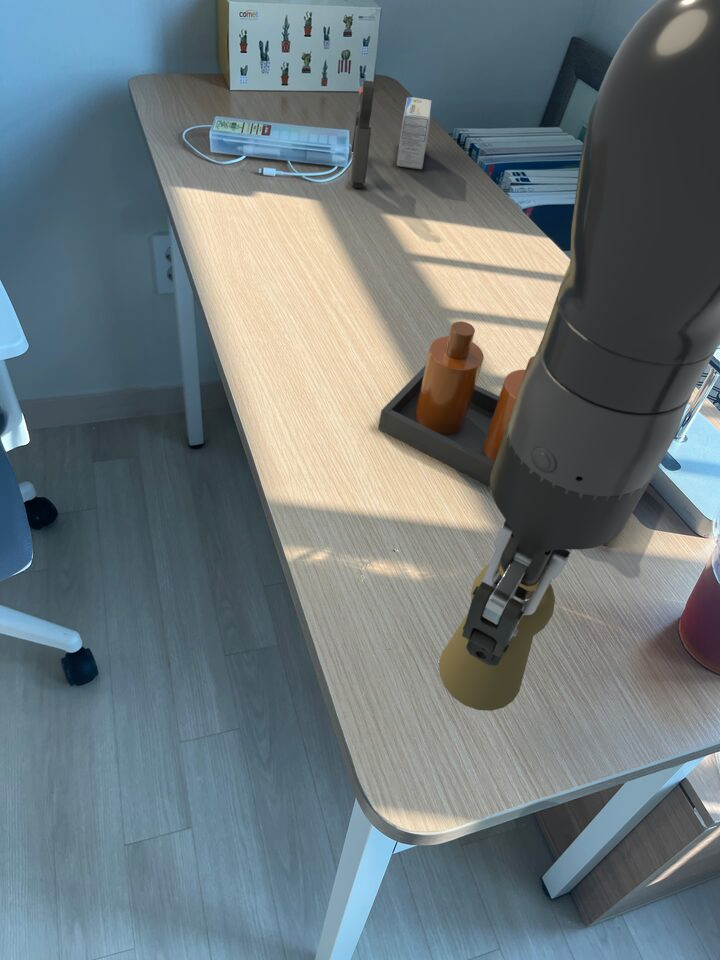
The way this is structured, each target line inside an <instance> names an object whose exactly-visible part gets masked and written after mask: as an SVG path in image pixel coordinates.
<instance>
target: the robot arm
mask: <svg viewBox="0 0 720 960" xmlns="http://www.w3.org/2000/svg"><path fill="white" fill-rule="evenodd" d="M569 257H570V259H569V264H568V266H567V268H566V271H565V273H564V275H563V277H562V280H561V282H560V285H559V287H558V288H559V289H558V292H557V295H556V298H555V301H554V304H553V306H552V309H551V313H550V316H549V318H548V321H547V324H546V327H545V330H544V333H543V336H542V339H541V341H540V344H539V346H538V348H537V350H536V353H535V354H534V358H533V360H532V362H531V363H530V365H529V367H528V369H527V371H526V373H525V375H524V378H523V380H522V383H521V386H520V388H519V391H518V394H517V397H516V400H515V403H514V406H513V409H512V412H511V415H510V418H509V421H508V424H507V427H506V430H505V433H504V436H503V439H502V442H501V445H500V448H499V451H498V454H497V457H496V460H495V463H494V466H493V469H492V472H491V478H490V486H489V487H490V492H491V497H492V499H493V502H494V504H495V506H496V507H497V509H498V511H499V512H500V514H501V515H502V517H503V518H504V522H503V523H502V525H501V527H500V529H499V530H498V533H497V535H496V538H495V540H494V549H495V550H494V553H493V555H492V557H491V559H490V562H489V564H488V565H489V566H488V568H487V570H486V572H485V574H484V577H483V579H482V581H481V584H480V585H479V587H478V586H476V588H475V590H474V591H473V594H472V595H474V597H473V599H472V602H470V606H469V610H468V612H469V613H468V612H467V614H468V616H467V620H466V623H465V625H464V627H463V634H462V636H463V637H465V638H466V639H468V640H469V641H468V644H467V646H466V648H467V650H468V651H469V654H470V655H472V656H473V657H475V658H477V659H479V660H480V661H482V662H484V663H485V664H487V665H493V666H496V665H498V663H499V661H500V659H501V658H502V656H503V654H504V653H506V651H507V650H508V648H509V645H508V643H509V641H510V640H511V639H512V637H513V636H514V637H515V636H516V635H517V633H518V631H519V629H517V627H518V625H519V624H520V622H521V620H522V618H523V616H524V615H531V614H533V613H534V612H535V610H536V609H537V607H538V605H539V604H540V602H541V600H542V598H543V596H544V594H545V592H546V590H547V588H548V586H549V584H551V582H552V581H553V580H554V579H556V578H558V577H559V576H560V574H561V572H562V571H563V569H564V567H565V566H566V564H567V561H568V559H569V558H570V556H571V554H572V552H573V550H574V551H575V550H587V549H588V550H589V549H594V548H597V547H600V546H604V545H603V544H605V543H607V542H608V543H609V542H611V541H612V540H614V539H615V538H616V537H617V536H618V535H619V534H621V533H622V532H623V530H624V529H625V527H626V525H627V523H628V522H629V520H630V518H631V516H632V514H633V513H634V512H635V509H636V507H637V506H638V505H639V502H640V500H641V499H642V497H643V494H645V491H646V490H647V488H648V486H649V485H650V483H651V481H652V479H653V477H654V476H655V474H656V472H657V470H658V468H659V467H660V464H661V463H662V461H663V459H664V458H665V456H666V454H667V453H668V451H669V449H670V447H671V445H672V443H673V441H674V439H675V438H676V435H677V433H678V431H679V428H680V425H681V423H682V419H683V417H684V413H685V411H686V408H687V406H688V403H689V402H690V400H691V397H692V394H693V392H694V391H695V389H696V387H697V385H698V383H699V382H700V380H701V378H702V377H703V375H704V373H705V371H706V369H707V368H708V365H709V364H710V363H711V360H712V358H713V356H714V355H715V353H716V351H717V350H718V348H719V346H720V0H657V1H656V2H655V3H654V4H653V5H652V6H651V7H650V8H649V9H648V10H646V12H645V13H643V14H642V16H641V17H640V18H639V19H638V20H637V21H636V22H635V24H634V25H633V27H632V28H630V31H629V32H628V33H627V35H626V36H625V37H624V39H623V40H622V42H621V44H620V45H619V47H618V49H617V51H616V52H615V54H614V56H613V57H612V59H611V62H610V64H609V66H608V68H607V70H606V72H605V74H604V77H603V79H602V82H601V84H600V86H599V88H598V91H597V94H596V97H595V100H594V102H593V106H592V108H591V111H590V114H589V118H588V122H587V125H586V130H585V134H584V137H583V142H582V148H581V155H580V161H579V167H578V173H577V182H576V189H575V199H574V208H573V214H572V221H571V232H570V256H569ZM608 543H607V544H608ZM500 566H501V567H502V569H503V572H504V575H503V576H501V574H500V571H499V570H500ZM543 573H544V574H543ZM542 575H543V576H542ZM541 576H542V578H541ZM540 578H541V580H540ZM539 580H540V582H539V584H538V586H537V588H536V590H535V591H527V590H525V589H523V588H522V587H520V586H519V585H520V583H521V584H523V585H525V586H533V585H535V584H536V583H537V582H538V581H539Z"/></svg>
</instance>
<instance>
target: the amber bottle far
mask: <svg viewBox="0 0 720 960" xmlns="http://www.w3.org/2000/svg"><path fill="white" fill-rule="evenodd" d="M475 333H476V328H475V327H474V326H473V325H472V324H471V323H469V322H466V321H455V322H453V323H452V324H451V326H450V330H449V334H448V335H445V336H441V337H439V338H436V339H435V340H433V342H431V344H430V346H429V350H428V353H427V358H426V363H425V365H426V367H425V371H424V376H423V380H422V384H421V389H420V393H419V397H418V402H417V406H416V410H415V417H416V419H417V421H418V423H419V424H421V425H423V426H425V427H427V428H429V429H431V430H433V431H435V432H437V433H439V434H452V433H455V432H457V431H459V430H460V429H461V428H462V427H463V426H464V423H465V420H466V417H467V413H468V410H469V407H470V403H471V400H472V397H473V393H474V390H475V386H477V382H478V379H479V376H480V373H481V369H482V366H483V363H484V353H483V350H482V348H480V346H479V345H477V344H476V343H475V342H473V340H474V338H475V337H474V336H475Z"/></svg>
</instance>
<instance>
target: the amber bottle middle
mask: <svg viewBox="0 0 720 960" xmlns="http://www.w3.org/2000/svg"><path fill="white" fill-rule="evenodd" d="M534 356H535V355H534ZM534 356H531V357H530V358H529V359H528V362H527V364H526V366H525V369H517V370H512V372H510V373H508V374H507V375H506V376H505V378H504V381H503V384H502V387H501V390H500V393H499V395H498V396H499V399H498V402H497V405H496V408H495V411H494V414H493V417H492V420H491V423H490V426H489V429H488V432H487V435H486V438H485V441H484V444H483V449H484V452H485V454H486V456H487V457H488V458H489V459H491V460H493V461H495V460H496V457H497V454H498V451H499V448H500V445H501V442H502V439H503V436H504V433H505V430H506V427H507V424H508V421H509V418H510V415H511V412H512V409H513V406H514V403H515V400H516V397H517V394H518V391H519V388H520V386H521V383H522V380H523V378H524V375H525V373H526V371H527V369H528V367H529V365H530V363H531V362H532V360H533V358H534Z"/></svg>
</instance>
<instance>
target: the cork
mask: <svg viewBox="0 0 720 960" xmlns="http://www.w3.org/2000/svg"><path fill="white" fill-rule="evenodd" d="M488 566H489V564H487V565H485V566H484V568H482V569H481V570H480V572H479V573H478V575H477V576H476V577H475V578H474V582H473V584H472V587H471V588H472V589H471V591H470V600H471V602H472V599H473V597H474V595H472V594H473V591H474V590H475V588H476V586H478V587H479V585H480V584H481V581H482V579H483V577H484V574H485V572H486V570H487V568H488ZM499 571H500V574H501V576H503V575H504V572H503V569H502V567H501V566H500V570H499ZM543 574H544V573H543ZM542 576H543V575H542ZM542 576H541V578H542ZM541 578H540V580H541ZM540 580H539V581H538V582H537V583H536V584H535V585H533V586H525V585H523V584H521V583H520V585H519V586H520V587H522V588H523V589H525V590H527V591H535V590H536V588H537V586H538V584H539V582H540ZM471 602H470V603H471ZM555 603H556V597H555V591H554V587H553V586H552V583H550V584H549V586H548V588H547V590H546V592H545V594H544V596H543V598H542V600H541V602H540V604H539V605H538V607H537V609H536V610H535V612H534V613H533V614H531V615H524V616H523V618H522V620H521V622H520V624H519V625H518V627H517V629H519V631H518V633H517V635H516V636H515V637H514V636H513V637H512V639H511V640H510V641H509V643H508V645H509V648H508V650H507V651H506V653H504V654H503V656H502V658H501V659H500V661H499V663H498V665H496V666H493V665H487V664H485V663H484V662H482V661H480V660H479V659H477V658H475V657H473V656H472V655H470V654H469V651H468V650H467V648H466V646H467V644H468V641H469V640H468V639H466V638H465V637H463V636H462V634H463V627H464V625H465V623H466V620H467V616H468V613H469V611H468V612H467V613H466V615H465V617H464V618H463V620H462V621H461V623H460V624H459V626H458V627H457V629H456V630H455V632H454V633H453V635H452V637H451V638H450V639H449V641H448V642H447V644H446V646H445V647H444V649H443V650H442V651H441V654H440V658H439V661H438V669H439V671H438V672H439V677H440V679H441V683H442V684H443V686H444V688H445V689H446V690H447V692H448V693H449V694H450V696H451V697H452V698H454V699H455V700H456V701H458V702H459V703H461V704H462V705H463V706H465V707H468V708H471V709H474V710H477V711H487V712H489V711H490V712H493V711H497V710H500V709H503V708H505V707H507V706H508V705H509V704H511V703H512V702H514V700H515V699H516V698H517V696H518V694H519V693H520V691H521V687H522V684H523V679H524V675H525V671H526V667H527V663H528V660H529V655H530V652H531V648H532V643H533V640H534V636H536V635H537V634H539V633H540V632H541V631H543V630H544V629H545V628H546V627H547V624H548V623H549V621H550V620H551V618H553V615H554V610H555Z"/></svg>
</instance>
